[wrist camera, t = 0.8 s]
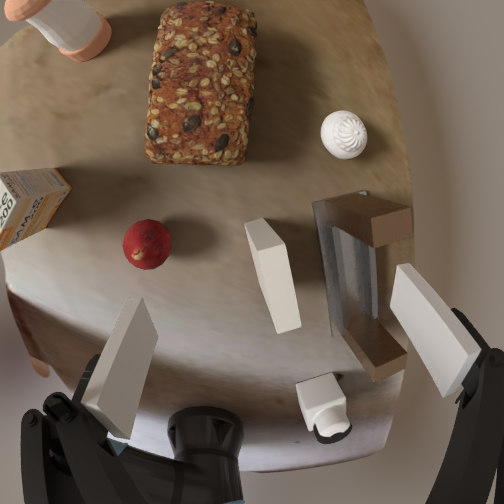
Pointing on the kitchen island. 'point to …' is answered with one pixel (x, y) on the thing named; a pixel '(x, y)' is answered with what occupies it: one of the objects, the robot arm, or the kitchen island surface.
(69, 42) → the pepper shaker
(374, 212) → the wood and metal rack
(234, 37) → the bread
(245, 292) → the kitchen island surface
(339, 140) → the white rounded ridged piece
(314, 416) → the medicine bottle
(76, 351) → the kitchen island surface
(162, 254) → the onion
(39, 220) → the supplement box
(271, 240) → the door panel
